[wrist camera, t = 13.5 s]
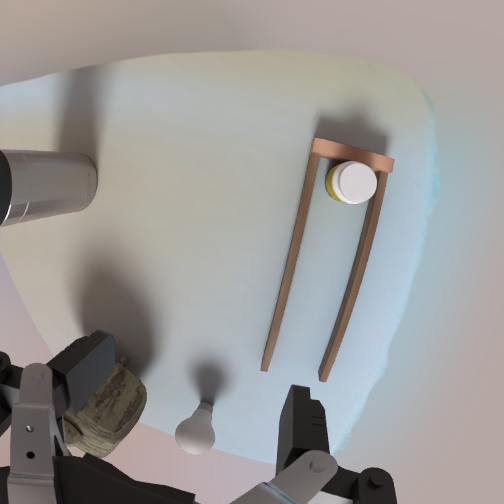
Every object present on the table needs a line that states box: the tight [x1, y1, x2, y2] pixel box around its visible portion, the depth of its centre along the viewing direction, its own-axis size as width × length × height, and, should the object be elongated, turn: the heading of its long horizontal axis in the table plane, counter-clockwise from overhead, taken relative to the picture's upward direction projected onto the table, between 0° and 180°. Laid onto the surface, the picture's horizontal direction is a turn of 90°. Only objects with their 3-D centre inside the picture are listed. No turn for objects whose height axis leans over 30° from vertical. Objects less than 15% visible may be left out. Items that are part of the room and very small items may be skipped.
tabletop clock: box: [63, 357, 147, 459], centre depth 34 cm, size 14×9×25 cm, turn 53°
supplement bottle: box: [325, 161, 377, 204], centre depth 32 cm, size 5×5×8 cm
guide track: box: [260, 137, 395, 382], centre depth 37 cm, size 10×32×4 cm, turn 169°
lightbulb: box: [175, 403, 215, 454], centre depth 41 cm, size 6×6×11 cm
